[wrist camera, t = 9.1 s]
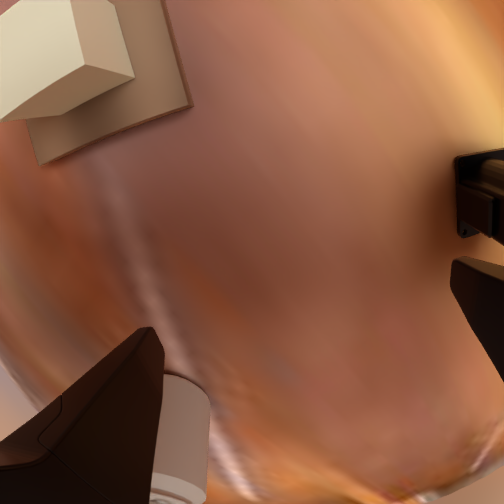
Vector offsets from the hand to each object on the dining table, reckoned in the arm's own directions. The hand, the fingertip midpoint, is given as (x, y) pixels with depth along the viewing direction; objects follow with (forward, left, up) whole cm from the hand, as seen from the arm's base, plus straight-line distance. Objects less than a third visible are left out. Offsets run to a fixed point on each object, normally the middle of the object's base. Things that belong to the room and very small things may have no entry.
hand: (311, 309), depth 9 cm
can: (+13, +15, -13) cm, 24 cm away
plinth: (+8, -12, -13) cm, 19 cm away
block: (+8, -12, -10) cm, 17 cm away
